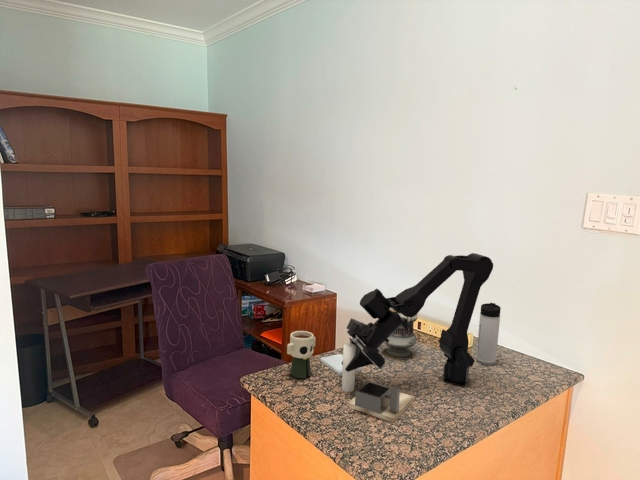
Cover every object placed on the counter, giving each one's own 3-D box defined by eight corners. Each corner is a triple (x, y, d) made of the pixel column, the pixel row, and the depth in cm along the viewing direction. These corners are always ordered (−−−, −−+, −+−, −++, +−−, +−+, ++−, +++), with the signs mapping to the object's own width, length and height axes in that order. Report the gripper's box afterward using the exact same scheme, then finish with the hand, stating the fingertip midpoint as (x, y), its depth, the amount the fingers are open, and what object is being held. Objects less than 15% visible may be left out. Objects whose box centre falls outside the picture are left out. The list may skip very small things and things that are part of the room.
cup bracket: (402, 407, 116) (404, 384, 116) (391, 418, 110) (392, 395, 110) (367, 395, 122) (368, 373, 121) (354, 406, 116) (356, 383, 115)
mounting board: (413, 400, 123) (414, 396, 122) (393, 422, 111) (393, 418, 111) (371, 387, 130) (371, 383, 129) (347, 407, 118) (347, 402, 118)
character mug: (294, 384, 130) (295, 341, 128) (279, 376, 135) (280, 335, 133) (321, 374, 137) (323, 334, 135) (306, 367, 142) (307, 327, 140)
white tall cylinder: (356, 388, 129) (358, 345, 127) (350, 393, 126) (352, 349, 124) (345, 385, 131) (347, 342, 129) (339, 389, 128) (341, 346, 126)
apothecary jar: (381, 345, 163) (384, 298, 161) (415, 349, 161) (418, 301, 158) (379, 358, 151) (382, 307, 149) (415, 362, 149) (419, 310, 146)
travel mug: (497, 361, 153) (502, 304, 150) (493, 367, 147) (498, 308, 144) (478, 356, 156) (483, 301, 153) (474, 362, 150) (479, 305, 148)
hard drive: (320, 357, 148) (339, 371, 137) (341, 353, 152) (361, 367, 141) (320, 362, 148) (339, 377, 137) (341, 358, 152) (361, 372, 141)
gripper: (355, 301, 135) (318, 337, 134) (376, 320, 117) (334, 363, 116) (378, 325, 138) (342, 361, 137) (402, 347, 120) (361, 389, 119)
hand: (344, 367), depth 127 cm, fingers closed on white tall cylinder, 4 cm apart
